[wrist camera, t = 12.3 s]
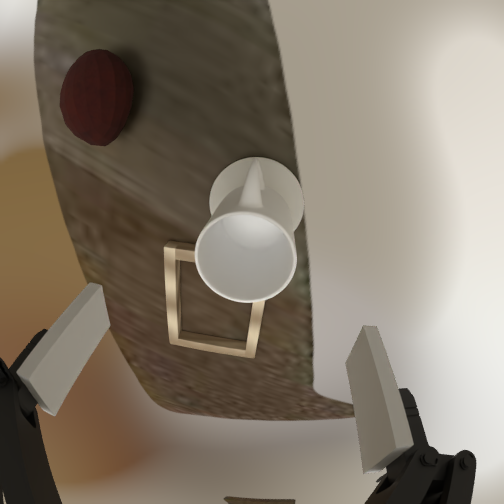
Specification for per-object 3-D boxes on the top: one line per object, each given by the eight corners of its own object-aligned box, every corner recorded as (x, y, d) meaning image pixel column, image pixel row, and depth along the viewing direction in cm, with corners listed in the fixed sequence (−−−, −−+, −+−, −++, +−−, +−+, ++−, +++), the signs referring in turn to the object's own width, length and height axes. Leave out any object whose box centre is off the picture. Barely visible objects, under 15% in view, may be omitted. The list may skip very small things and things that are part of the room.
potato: (143, 46, 25) (102, 29, 17) (152, 135, 30) (112, 142, 22) (87, 67, 26) (41, 62, 18) (96, 149, 31) (50, 162, 23)
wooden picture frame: (169, 240, 36) (164, 246, 35) (271, 255, 36) (271, 262, 34) (173, 335, 44) (169, 343, 42) (255, 349, 44) (254, 358, 42)
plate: (214, 151, 31) (213, 152, 30) (310, 164, 31) (311, 165, 30) (208, 238, 36) (206, 241, 35) (294, 251, 36) (295, 254, 35)
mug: (298, 157, 30) (309, 174, 20) (286, 254, 35) (289, 307, 25) (221, 150, 30) (194, 164, 20) (217, 247, 35) (195, 297, 26)
